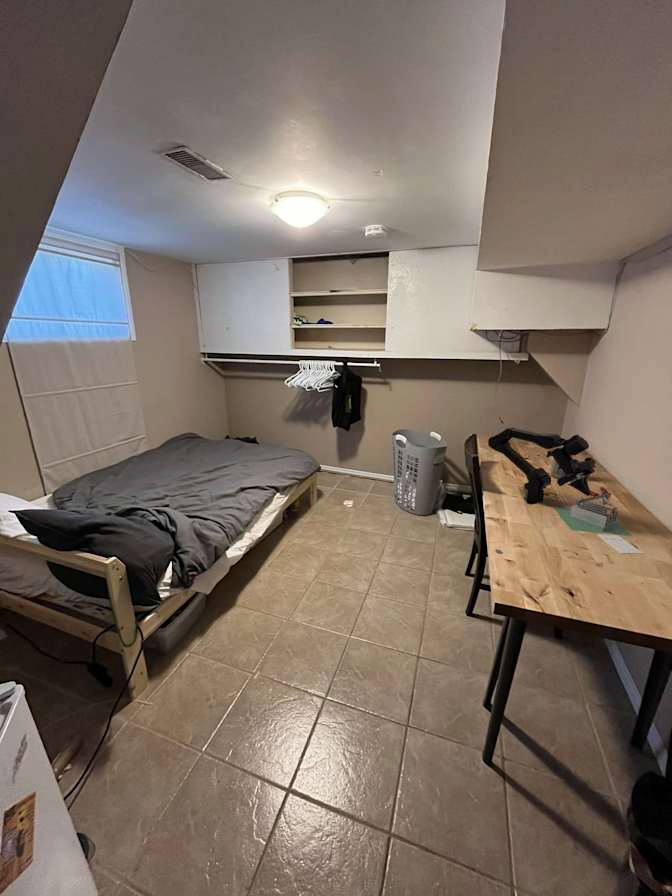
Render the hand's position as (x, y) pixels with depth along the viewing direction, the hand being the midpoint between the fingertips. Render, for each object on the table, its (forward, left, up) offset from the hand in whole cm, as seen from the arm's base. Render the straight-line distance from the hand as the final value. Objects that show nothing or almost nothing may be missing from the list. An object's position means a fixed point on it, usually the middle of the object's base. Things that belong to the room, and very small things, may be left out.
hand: (589, 495), depth 143 cm
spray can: (+8, +54, -11) cm, 56 cm away
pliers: (+15, +29, -12) cm, 35 cm away
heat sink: (+2, -2, -10) cm, 10 cm away
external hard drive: (+4, -19, -12) cm, 23 cm away
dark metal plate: (+2, -1, -1) cm, 2 cm away
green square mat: (+1, -2, -11) cm, 11 cm away
